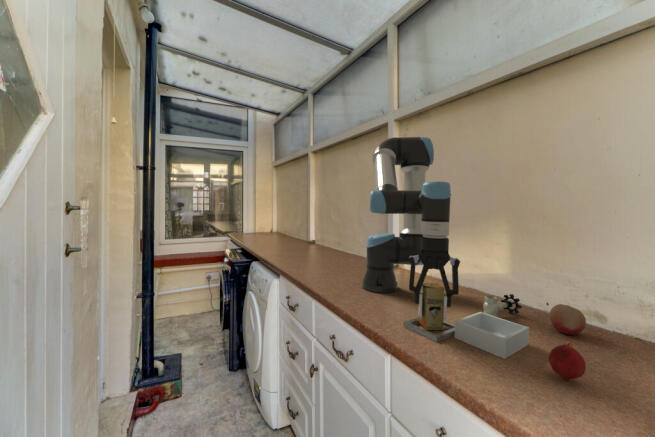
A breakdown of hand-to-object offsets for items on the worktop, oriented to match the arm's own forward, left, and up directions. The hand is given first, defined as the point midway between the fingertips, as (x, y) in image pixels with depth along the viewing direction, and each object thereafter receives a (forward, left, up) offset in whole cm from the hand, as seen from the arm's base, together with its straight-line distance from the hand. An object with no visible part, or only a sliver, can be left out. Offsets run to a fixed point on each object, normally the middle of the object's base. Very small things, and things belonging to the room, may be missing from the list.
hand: (432, 315), depth 82 cm
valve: (+5, +28, -4) cm, 29 cm away
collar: (0, 0, -4) cm, 4 cm away
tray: (+13, +7, -4) cm, 15 cm away
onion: (+30, +3, -4) cm, 31 cm away
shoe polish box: (-1, +1, -4) cm, 4 cm away
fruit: (+22, +31, -4) cm, 38 cm away
